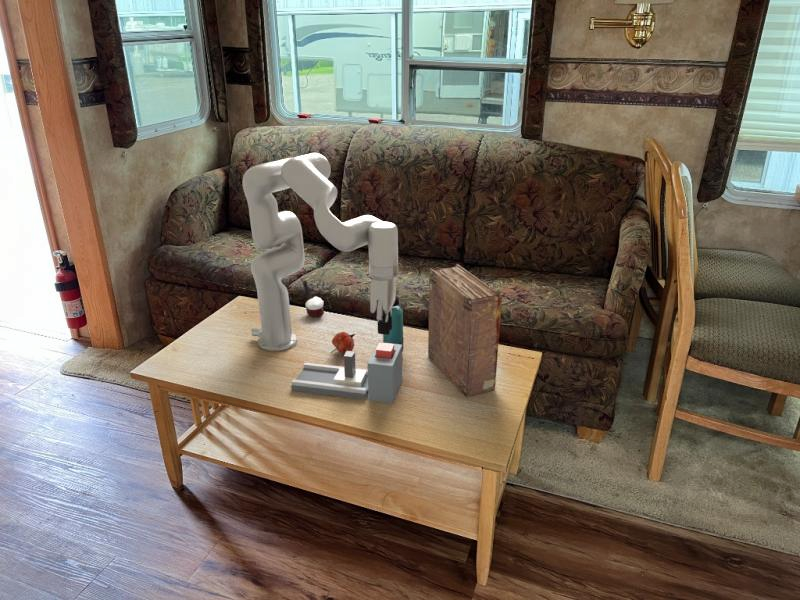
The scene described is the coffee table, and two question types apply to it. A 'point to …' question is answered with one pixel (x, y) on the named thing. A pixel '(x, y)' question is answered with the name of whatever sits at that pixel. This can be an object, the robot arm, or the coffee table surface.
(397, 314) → the beverage bottle
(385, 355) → the button
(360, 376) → the carriage
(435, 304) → the book
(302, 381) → the rail bed
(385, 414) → the coffee table surface
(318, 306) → the cocoa
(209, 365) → the coffee table surface
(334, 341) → the pomegranate
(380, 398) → the button cabinet
